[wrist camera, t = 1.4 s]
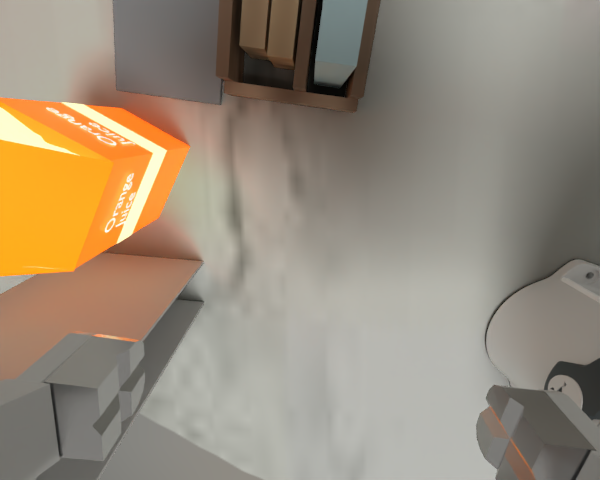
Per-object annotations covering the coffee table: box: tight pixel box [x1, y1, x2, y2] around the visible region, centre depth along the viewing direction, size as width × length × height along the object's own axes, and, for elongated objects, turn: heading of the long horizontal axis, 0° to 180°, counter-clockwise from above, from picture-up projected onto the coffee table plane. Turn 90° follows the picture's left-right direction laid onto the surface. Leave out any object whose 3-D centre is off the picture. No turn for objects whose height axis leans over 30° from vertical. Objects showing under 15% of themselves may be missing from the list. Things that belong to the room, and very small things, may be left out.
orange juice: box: [0, 98, 190, 276], centre depth 26 cm, size 8×9×20 cm
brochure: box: [0, 253, 204, 480], centre depth 26 cm, size 14×6×30 cm, turn 86°
